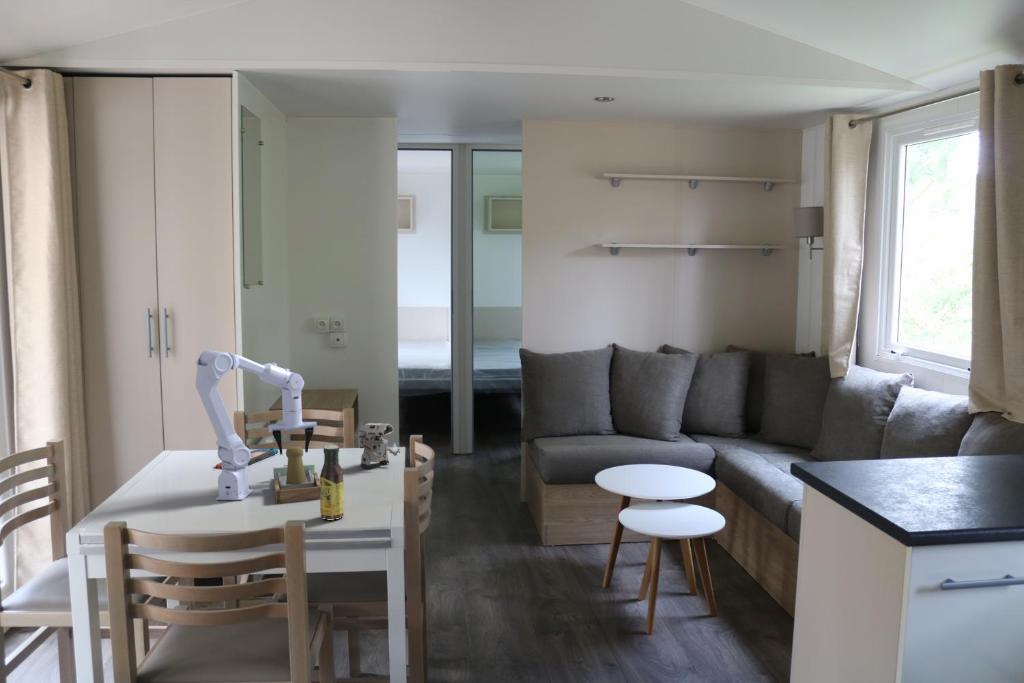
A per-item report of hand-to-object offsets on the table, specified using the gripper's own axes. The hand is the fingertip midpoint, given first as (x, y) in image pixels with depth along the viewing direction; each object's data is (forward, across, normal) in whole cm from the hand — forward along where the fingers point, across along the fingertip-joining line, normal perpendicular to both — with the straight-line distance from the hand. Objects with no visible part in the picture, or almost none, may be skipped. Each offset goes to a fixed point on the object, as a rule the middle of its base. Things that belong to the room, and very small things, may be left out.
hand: (293, 452), depth 248 cm
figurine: (+10, -28, -8) cm, 30 cm away
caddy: (+9, 0, +13) cm, 16 cm away
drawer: (+8, 0, +3) cm, 9 cm away
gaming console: (+10, +14, -33) cm, 38 cm away
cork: (+7, 0, +10) cm, 12 cm away
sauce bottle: (+10, -8, +40) cm, 42 cm away
